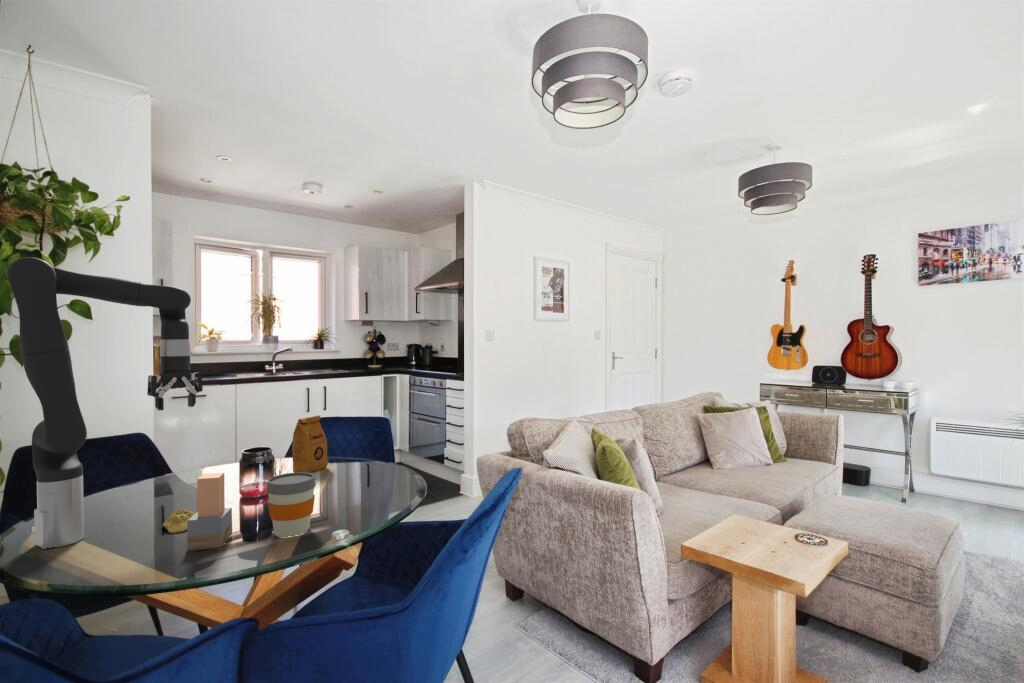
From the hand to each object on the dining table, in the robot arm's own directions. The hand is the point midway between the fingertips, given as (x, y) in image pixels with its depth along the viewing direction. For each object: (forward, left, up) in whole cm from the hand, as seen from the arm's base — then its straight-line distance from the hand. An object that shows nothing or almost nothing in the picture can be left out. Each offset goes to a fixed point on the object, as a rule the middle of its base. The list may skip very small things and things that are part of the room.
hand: (176, 408), depth 152 cm
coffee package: (+55, +10, -33) cm, 65 cm away
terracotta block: (-5, -28, -25) cm, 38 cm away
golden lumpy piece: (-3, -8, -34) cm, 35 cm away
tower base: (-5, -28, -33) cm, 44 cm away
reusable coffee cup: (+10, -40, -33) cm, 53 cm away
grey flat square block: (-5, -28, -29) cm, 41 cm away
